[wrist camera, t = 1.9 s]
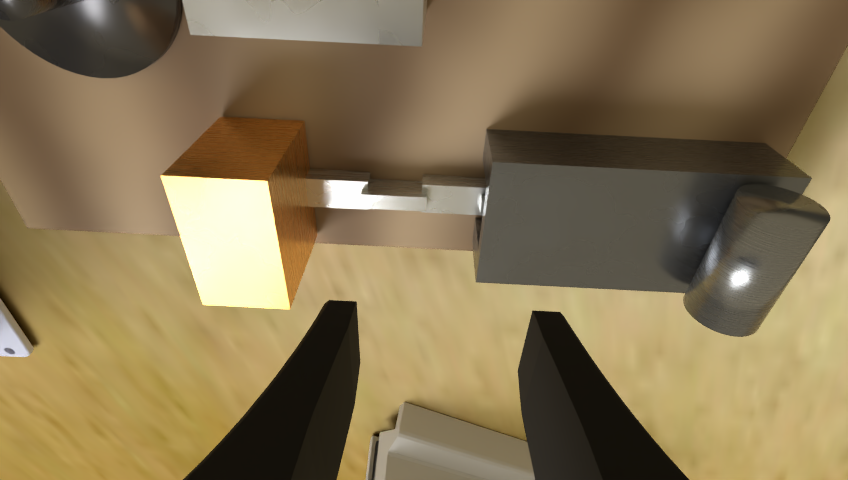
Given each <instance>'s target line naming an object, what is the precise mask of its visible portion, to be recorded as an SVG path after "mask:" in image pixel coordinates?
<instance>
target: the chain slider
mask: <svg viewBox="0 0 848 480" xmlns="http://www.w3.org/2000/svg"><path fill="white" fill-rule="evenodd" d="M161 178H162V181H163V184H164V187H165V190H166V193H167V197H168V200H169V203H170V206H171V209H172V212H173V215H174V218H175V221H176V224H177V227H178V230H179V233H180V236H181V239H182V242H183V245H184V248H185V251H186V255H187V258H188V261H189V264H190V267H191V270H192V273H193V276H194V279H195V282H196V285H197V288H198V291H199V294H200V297H201V300H202V303H203V305H218V306H238V307H257V308H277V309H290V308H291V305H292V303H293V300H294V297H295V295H296V292H297V289H298V286H299V284H300V281H301V278H302V276H303V273H304V270H305V267H306V265H307V262H308V259H309V257H310V254H311V251H312V248H313V246H314V243H315V240H316V238H317V226H316V217H315V209H314V207H327V208H346V209H366V210H369V209H385V210H405V211H421V212H425V213H445V214H464V215H483V209H484V202H485V194H486V187H487V185H486V179H485V177H465V176H446V175H426V174H423V179H422V181H407V180H387V179H370V172H367V171H347V170H327V169H310V165H309V156H308V148H307V139H306V130H305V122H304V121H298V120H278V119H258V118H238V117H219V118H218V119H217V120H216V121H215V122H214V123H213V124H212V125H211V126H210V127H209V128H208V129H207V130H206V131H205V132H204V133H203V134H202V135H201V136H200V137H199V138H198V139H197V140H196V141H195V142H194V143H193V144H192V145H191V146H190V147H189V148H188V149H187V150H186V151H185V152H184V153H183V154H182V155H181V156H180V157H179V158H178V159H177V160H176V161H175V162H174V163H173V164H172V165H171V166H170V167H169V168H168V169H167V170H166V171H165V172H164V173H163V174H162V175H161Z"/></svg>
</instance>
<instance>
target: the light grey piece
mask: <svg viewBox="0 0 848 480" xmlns="http://www.w3.org/2000/svg"><path fill="white" fill-rule="evenodd" d="M366 480H535V477H534V472H533V467H532V462H531V457H530V452H529V448H528V443H527V442H526V441H523V440H520V439H517V438H514V437H511V436H508V435H505V434H502V433H499V432H496V431H492V430H489V429H486V428H483V427H480V426H477V425H474V424H471V423H468V422H465V421H462V420H459V419H456V418H452V417H449V416H446V415H443V414H440V413H437V412H434V411H431V410H428V409H425V408H422V407H419V406H415V405H412V404H409V403H406V402H404V403H403V404H401V405H400V408H399V413H398V418H397V422H396V427H395V429H393V430H388V431H384V432H380V435H379V437H377V436H372V437H371V441H370V448H369V456H368V465H367V473H366Z"/></svg>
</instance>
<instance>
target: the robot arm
mask: <svg viewBox="0 0 848 480" xmlns="http://www.w3.org/2000/svg"><path fill="white" fill-rule="evenodd" d="M33 350H34V349H33V346H32V345H31V343H30V342H29V340H28V339H27V337H26V336H25V334H24V333H23V331H22V330H21V328H20V327H19V325H18V324H17V322H16V321H15V319H14V318H13V316H12V315H11V313H10V312H9V310H8V309H7V307H6V306H5V304H4V303H3V301H2V300H1V298H0V356H13V357H27V356H29V355H30V354H31V353H32V352H33ZM359 367H360V351H359V335H358V318H357V302H353V301H334V300H329V301H328V302H326V303H325V304H324V306H323V307H322V309H321V311H320V313H319V314H318V316H317V318H316V319H315V321H314V322H313V324H312V326H311V327H310V329H309V330H308V332H307V333H306V335H305V336H304V338H303V339H302V341H301V342H300V344H299V345H298V346H297V348H296V349H295V351H294V352H293V353H292V355H291V356H290V358H289V359H288V360H287V362H286V363H285V364H284V366H283V367H282V368H281V370H280V371H279V373H278V374H277V375H276V377H275V378H274V379H273V380H272V382H271V383H270V384H269V386H268V387H267V388H266V389H265V390H264V392H263V393H262V394H261V395H260V397H259V398H258V399H257V400H256V401H255V403H254V404H253V405H252V406H251V408H250V409H249V410H248V411H247V412H246V414H245V415H244V416H243V417H242V418H241V419H240V421H239V422H238V423H237V424H236V425H235V426H234V427H233V428H232V430H231V431H230V432H229V433H228V434H227V435H226V436H225V437H224V438H223V439H222V441H221V442H220V443H219V444H218V445H217V446H216V447H215V448H214V449H213V450H212V451H211V452H210V453H209V454H208V455H207V456H206V457H205V458H204V460H203V461H202V462H201V463H200V464H199V465H198V466H197V467H195V468H194V469H193V470H192V471H191V472H190V473H189V474H188V475H187V476H186V477H185V478H184V479H183V480H336V479H337V475H338V471H339V467H340V463H341V459H342V455H343V451H344V447H345V443H346V438H347V434H348V430H349V426H350V422H351V418H352V413H353V409H354V405H355V398H356V390H357V383H358V375H359ZM518 378H519V390H520V401H521V411H522V418H523V423H524V428H525V433H526V438H527V443H528V448H529V452H530V457H531V462H532V467H533V472H534V477H535V480H689V479H688V478H687V477H686V476H685V475H684V474H683V472H682V471H681V470H680V469H679V468H678V467H677V466H676V465H675V464H674V463H673V461H672V460H671V459H670V458H669V457H668V456H667V455H666V454H665V452H664V451H663V450H662V449H661V448H660V447H659V445H658V444H657V443H656V442H655V441H654V440H653V438H652V437H651V436H650V435H649V433H648V432H647V431H646V430H645V429H644V427H643V426H642V425H641V424H640V422H639V421H638V420H637V419H636V418H635V416H634V415H633V414H632V412H631V411H630V410H629V409H628V407H627V406H626V405H625V404H624V402H623V401H622V400H621V398H620V397H619V395H618V394H617V393H616V391H615V390H614V389H613V387H612V386H611V385H610V383H609V382H608V381H607V379H606V378H605V377H604V375H603V374H602V372H601V371H600V370H599V368H598V367H597V365H596V364H595V363H594V361H593V360H592V358H591V357H590V355H589V354H588V352H587V351H586V349H585V348H584V346H583V345H582V343H581V342H580V340H579V339H578V337H577V336H576V334H575V333H574V331H573V330H572V328H571V327H570V325H569V324H568V322H567V321H566V319H565V317H564V316H563V315H562V314H561V313H560V312H548V311H532V315H531V319H530V323H529V327H528V331H527V335H526V339H525V343H524V347H523V352H522V356H521V360H520V364H519V368H518Z"/></svg>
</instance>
